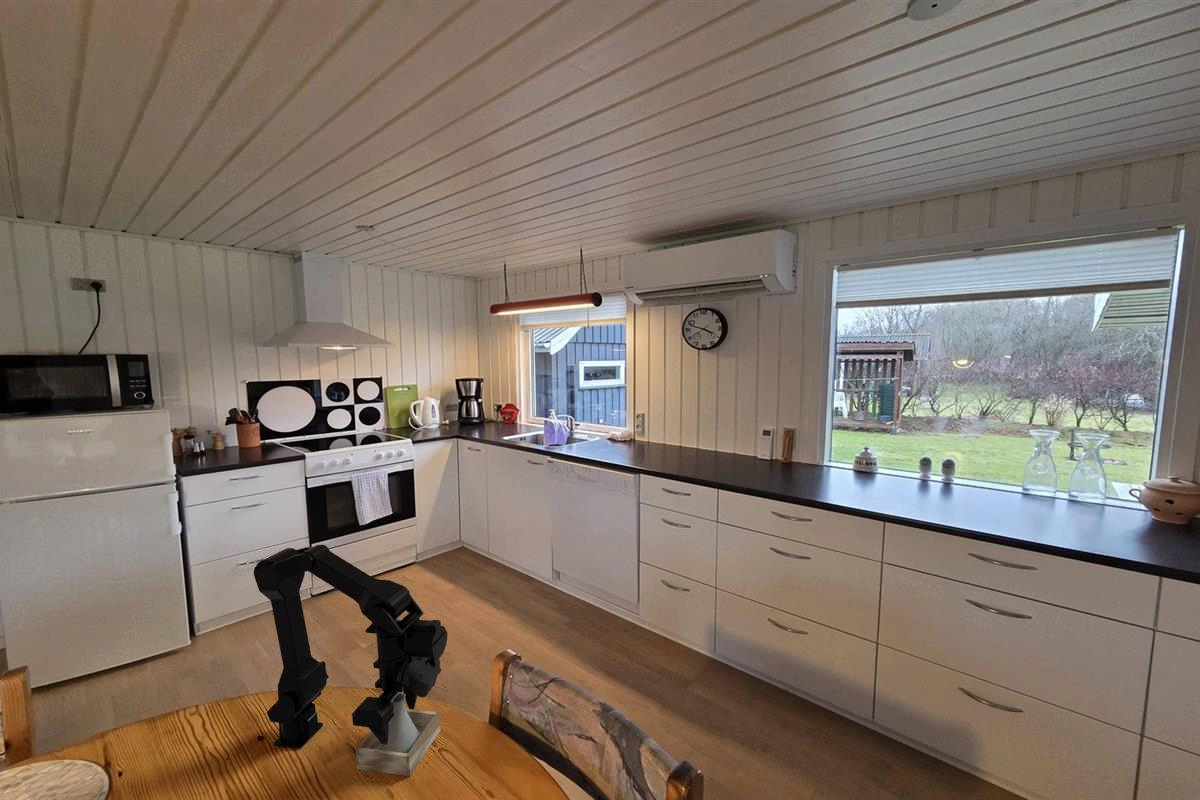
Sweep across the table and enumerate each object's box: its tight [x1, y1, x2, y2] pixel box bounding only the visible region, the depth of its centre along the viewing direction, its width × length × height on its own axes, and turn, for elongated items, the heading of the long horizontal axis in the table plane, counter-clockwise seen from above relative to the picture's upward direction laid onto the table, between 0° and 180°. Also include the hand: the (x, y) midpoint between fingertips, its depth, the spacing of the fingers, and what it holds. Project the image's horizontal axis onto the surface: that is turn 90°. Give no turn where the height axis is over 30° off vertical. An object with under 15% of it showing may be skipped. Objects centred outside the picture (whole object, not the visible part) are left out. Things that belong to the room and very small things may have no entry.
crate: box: [355, 708, 441, 777], centre depth 96 cm, size 11×11×4 cm
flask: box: [380, 692, 420, 753], centre depth 96 cm, size 7×7×10 cm
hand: (398, 725), depth 96 cm, fingers open, 9 cm apart
